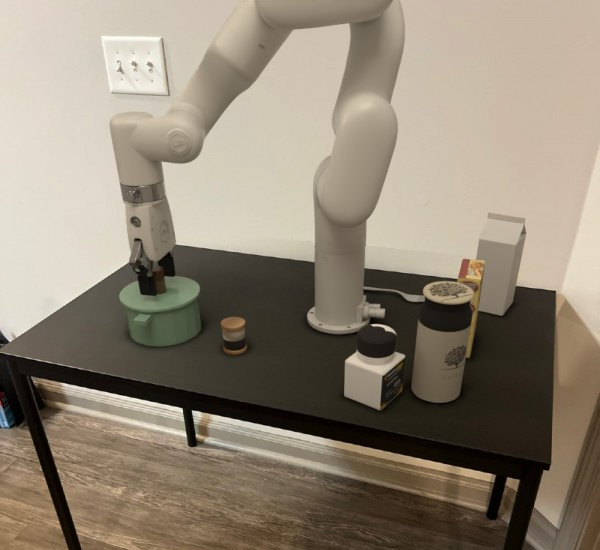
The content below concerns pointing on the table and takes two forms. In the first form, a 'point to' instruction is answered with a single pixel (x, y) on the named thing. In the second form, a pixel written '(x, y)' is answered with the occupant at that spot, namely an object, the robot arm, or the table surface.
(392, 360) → the medicine bottle
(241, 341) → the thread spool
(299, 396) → the table surface
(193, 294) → the pot lid
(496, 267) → the milk carton
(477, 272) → the candy box
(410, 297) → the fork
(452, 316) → the travel mug
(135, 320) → the pot
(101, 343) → the table surface
